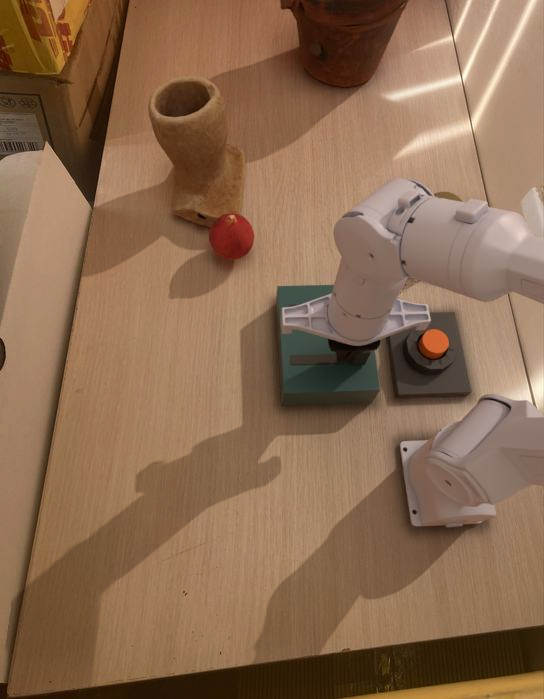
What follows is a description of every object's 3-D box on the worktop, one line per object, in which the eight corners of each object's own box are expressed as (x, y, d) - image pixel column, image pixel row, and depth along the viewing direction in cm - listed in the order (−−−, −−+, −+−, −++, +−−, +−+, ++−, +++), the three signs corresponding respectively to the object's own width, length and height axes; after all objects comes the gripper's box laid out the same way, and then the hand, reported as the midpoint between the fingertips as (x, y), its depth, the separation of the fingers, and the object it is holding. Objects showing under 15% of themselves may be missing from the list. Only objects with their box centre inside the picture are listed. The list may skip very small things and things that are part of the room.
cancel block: (468, 395, 66) (477, 387, 63) (395, 398, 65) (402, 389, 63) (451, 316, 70) (459, 305, 68) (383, 317, 70) (389, 306, 67)
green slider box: (372, 402, 65) (380, 389, 61) (281, 405, 64) (283, 392, 60) (358, 301, 71) (365, 283, 67) (275, 303, 70) (277, 285, 66)
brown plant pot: (278, 21, 93) (284, -100, 77) (393, 28, 94) (423, -91, 77) (274, 95, 86) (280, -22, 69) (399, 102, 86) (433, -12, 70)
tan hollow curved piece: (171, 146, 81) (155, 55, 67) (250, 154, 81) (250, 64, 67) (152, 228, 74) (130, 146, 61) (238, 236, 74) (235, 157, 61)
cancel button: (446, 358, 65) (451, 352, 63) (420, 359, 65) (424, 353, 63) (441, 334, 66) (446, 328, 65) (416, 335, 66) (420, 329, 65)
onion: (203, 259, 73) (197, 223, 65) (224, 229, 75) (221, 190, 67) (240, 277, 72) (239, 242, 64) (261, 246, 74) (262, 208, 67)
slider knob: (364, 365, 62) (371, 352, 59) (351, 365, 62) (356, 353, 59) (362, 349, 63) (368, 336, 60) (349, 349, 63) (354, 336, 59)
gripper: (436, 252, 50) (400, 319, 63) (282, 255, 50) (276, 322, 62) (450, 319, 47) (409, 375, 60) (286, 323, 47) (279, 380, 59)
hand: (341, 352), depth 61 cm, fingers closed
